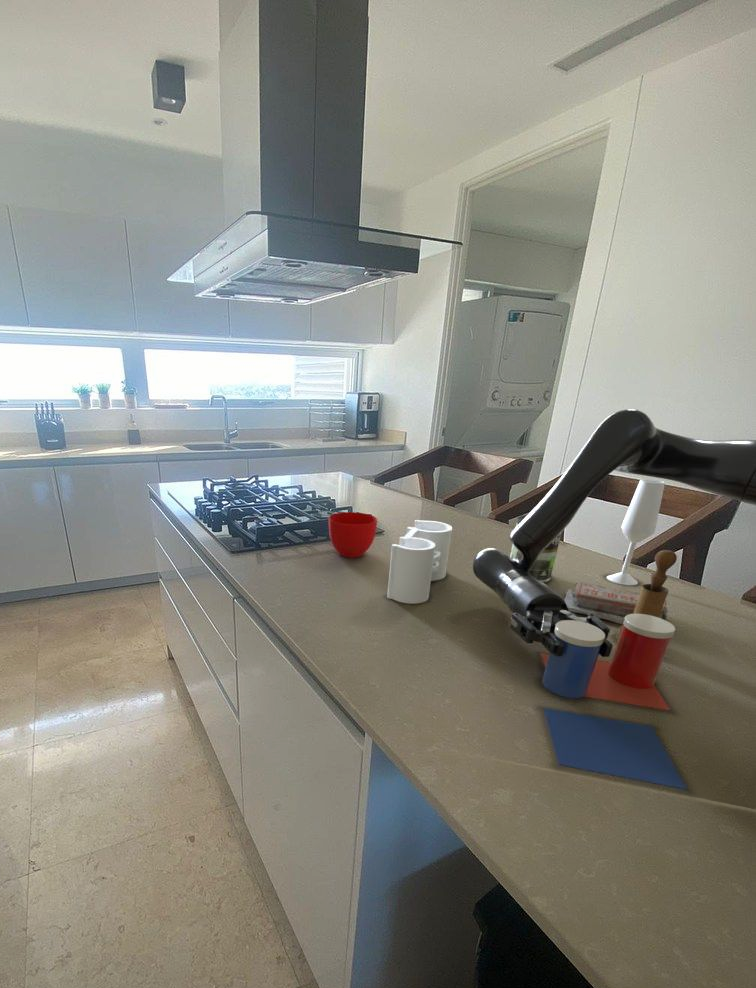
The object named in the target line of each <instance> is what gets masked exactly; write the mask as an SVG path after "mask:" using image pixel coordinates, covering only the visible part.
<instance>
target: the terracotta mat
mask: <svg viewBox="0 0 756 988" xmlns="http://www.w3.org/2000/svg"><path fill="white" fill-rule="evenodd" d="M548 655H549V653H540V656H541V660H542V663H543V667H544V668H545V667H546V663H547V659H548ZM610 664H611V662H605V661H598V660H597V662H596V665H595V668H594V672H593V675H592V678H591V681H590V685H589V688H588V691H587V694H586V695H585V696H584V697H585V698H590V699H597V700H602V701H609V702H616V703H622V704H629V705H635V706H641V707H647V708H648V707H649V708H653V709H659V710H666V711H671V708H670V707H669V705H668V703H667V702H666V701H665V699H664V698H663V696H662V695H661V693H660V691H659V690H658V689H657V687H656V685H655V684H654V685H653V687H651V688H648V689H639V688H633V687H629V686H626V685H623V684H621V683H619V682H617V681H615V680H614V679H613V678H611V677H610V675H609V674H608V670H609V667H610ZM584 697H583V698H584Z"/></svg>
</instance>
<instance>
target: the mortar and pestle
mask: <svg viewBox="0 0 756 988" xmlns="http://www.w3.org/2000/svg"><path fill="white" fill-rule="evenodd" d="M677 559H678V556H677V554H676V552H674V551H673V550H669V549H661V550H660V551H658V552H657V553H656V554H655V556H654V563H655V566H656V570H655V572H653V573H651V576H650V583H643V585H641V589H640V592H639V594H640V595H639V598H638V601H637V604H636V607H635V610H634V613H633V614H646V615H651V616H655V617H658V618H659V616H660V613H661V610H662V608H663V605H664V602H665V600H667V597H668V595H669V589H668V588H667V587H665V586H663V585H664V584H665V582H666V581H667V579H668V576H667V572H668V570H669V569H670V568H671V567H673V566H674V565H675V564H676V562H677ZM622 627H623V624H621V625H620V626H619V628H618V631H617V634H616V636H615V638H616V640H617V641H618V639H619V636H620V633H621V630H622Z"/></svg>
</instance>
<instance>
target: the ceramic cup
mask: <svg viewBox="0 0 756 988" xmlns="http://www.w3.org/2000/svg"><path fill="white" fill-rule="evenodd" d="M377 526H378V518H377V517H376V516H374V515H373V514H368V513H363V512H358V511H357V512H356V511H346V512H345V511H344V512H343V511H342V512H336V513H331V515H330V516H329V517H328V535H329V538H330V542H331V544H332V546H333V548H334V549H335V551H336V552H337V554H339V556H341V557H345V558H352V559H353V558H354V559H355V558H360V557H362V556H363V555H364V554H365V553H366V552H367V551H368V550H369V549H370V548H371V546H372V544H373V543H374V539H375V537H376V533H377Z"/></svg>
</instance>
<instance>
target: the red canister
mask: <svg viewBox="0 0 756 988" xmlns="http://www.w3.org/2000/svg"><path fill="white" fill-rule="evenodd" d="M622 625H623V627H622V630H621V633H620V636H619V639H618V640H617V643H616V645H615V648H614V652H613V655H612V658H611V661H610V663H611V664H610V667H609V670H608V674H609V675H610V677H611V678H613V679H614V680H615V681H617V682H619V683H621V684H623V685H626V686H629V687H633V688H639V689H648V688H651V687H653V685H654V686H655V683H656V680H657V678H658V675H659V673H660V670H661V667H662V664H663V661H664V659H665V656H666V654H667V651H668V648H669V645H670V643H671V641H672V637H673V636H674V635H675V631H676V626H674V624H672V623H671V622H670V621H667V619H666V620H663V619H661V618H658V617H655V616H651V615H646V614H628V615H626V616H625V618H624V621H623V624H622Z"/></svg>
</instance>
